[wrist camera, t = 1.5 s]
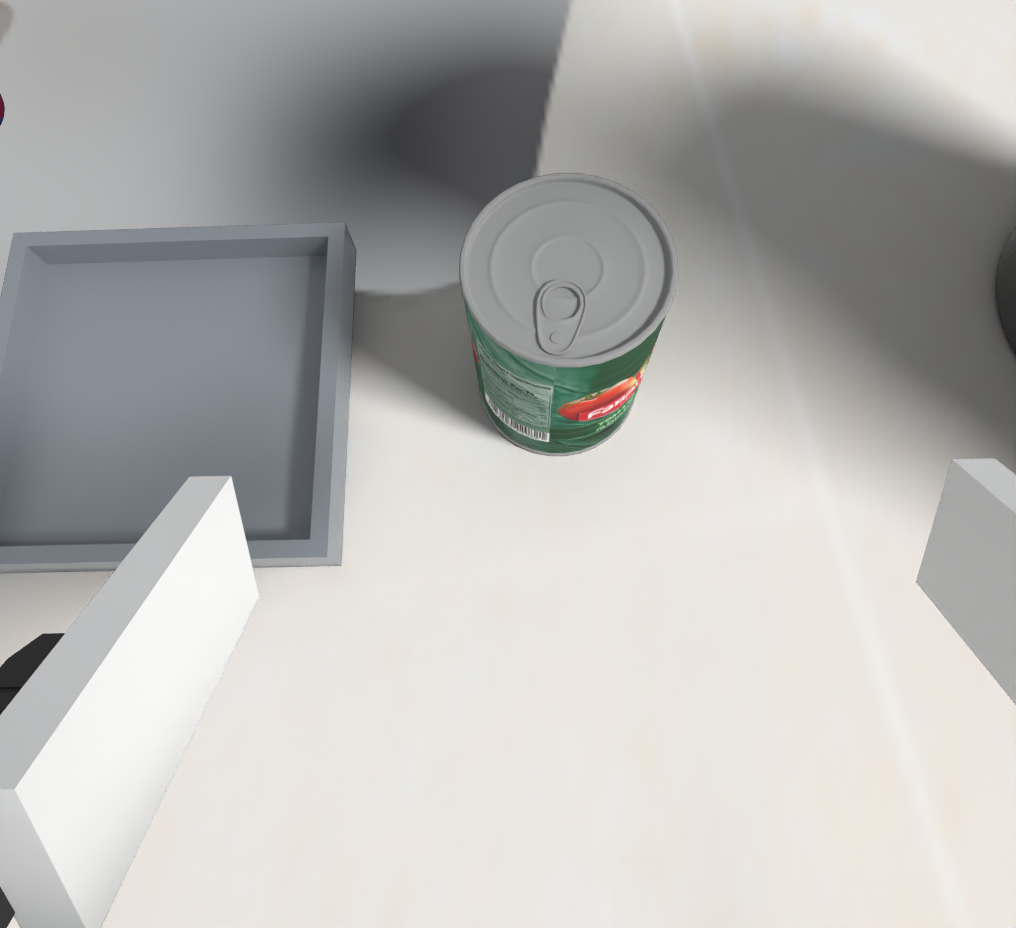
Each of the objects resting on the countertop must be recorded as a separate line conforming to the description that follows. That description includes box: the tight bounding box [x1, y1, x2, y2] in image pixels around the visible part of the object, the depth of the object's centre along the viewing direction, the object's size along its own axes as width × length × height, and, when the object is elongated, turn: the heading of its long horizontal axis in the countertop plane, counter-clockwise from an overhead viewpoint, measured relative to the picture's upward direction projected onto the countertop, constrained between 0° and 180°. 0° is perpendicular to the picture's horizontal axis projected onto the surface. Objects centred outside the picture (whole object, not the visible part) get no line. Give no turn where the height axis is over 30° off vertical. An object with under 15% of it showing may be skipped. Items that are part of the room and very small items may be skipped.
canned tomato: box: [459, 173, 678, 456], centre depth 31 cm, size 8×8×11 cm
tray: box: [0, 222, 356, 573], centre depth 36 cm, size 17×17×2 cm
